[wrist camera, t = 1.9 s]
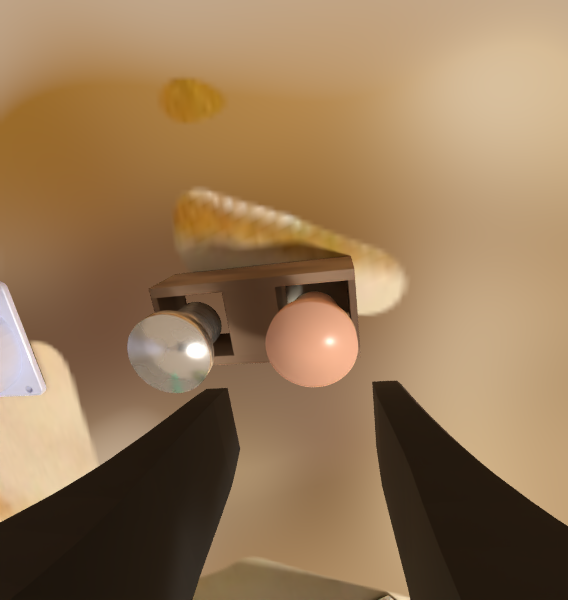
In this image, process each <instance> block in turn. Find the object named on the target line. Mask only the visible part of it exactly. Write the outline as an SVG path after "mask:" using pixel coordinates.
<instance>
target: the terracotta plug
mask: <svg viewBox="0 0 568 600" xmlns="http://www.w3.org/2000/svg"><path fill="white" fill-rule="evenodd" d="M265 345H266V352H267V356H268V358H269V361H270V363H271V364H272V366H273V367H274V369H275V370H276V371H277V372H278V373H279V374H280V375H281V376H282V377H284V378H285V379H287V380H288V381H290V382H292V383H295V384H297V385H301V386H306V387H322V386H326V385H329V384H332V383H334V382H336V381H338V380H340V379H341V378H343V377H344V376H345V375H346V374H347V373H348V372H349V371H350V370H351V368H352V367H353V365H354V363H355V361H356V358H357V354H358V340H357V334H356V330H355V326H354V324H353V322H352V320H351V319H350V317H349V316H348V315H347V314H346V312H345V311H343V310H342V309H341V308H340V307H338V305H337V303H336V302H335V300H334V299H333V298H332V297H330V296H329V295H327V294H325V293H322V292H317V291H312V292H307V293H305V294H303V295H301V296H299V297H298V298H297V299H296V300H295V301H293V302H291V303H289V304H287V305H286V306H284V307H283V308H282V309H280V311H279V312H278V313H277V314H276V315H275V317H274V318H273V320H272V322H271V324H270V326H269V328H268V331H267V335H266V342H265Z"/></svg>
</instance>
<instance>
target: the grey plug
mask: <svg viewBox="0 0 568 600" xmlns="http://www.w3.org/2000/svg"><path fill="white" fill-rule="evenodd" d="M220 332H221V320H220V318H219V316H218V314H217V313H216V311H215V310H214V309H213V308H212V307H210V306H209V305H207V304H204V303H201V302H192V303H188V304H186V305H184V306H183V307H182V308H181V309H179V310H178V311H171V310H164V311H159V312H155V313H153V314H151V315H149V316H148V317H146V318H145V319H144V320H142V321H141V322H139V323H138V324H137V325H136V326H135V327H134V328H133V330H132V332H131V334H130V336H129V339H128V347H127V349H128V356H129V359H130V362H131V364H132V366H133V368H134V370H135V371H136V372H137V374H138V375H139V376H140V377H141V378H142V379H143V380H144V381H145V382H146V383H148V384H149V385H151V386H152V387H154V388H156V389H159V390H161V391H165V392H170V393H182V392H186V391H190V390H192V389H194V388H196V387H197V386H198V385H200V384H201V382H202V381H203V380H204V378H205V377H206V376H207V374H208V373H209V371H210V370H211V367H212V365H213V362H214V346H213V343H214V342H215V341H216V340H217V338H218V337H219V335H220Z"/></svg>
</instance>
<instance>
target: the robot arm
mask: <svg viewBox="0 0 568 600" xmlns="http://www.w3.org/2000/svg"><path fill="white" fill-rule="evenodd" d="M372 384H373V399H374V415H375V430H376V431H375V432H376V447H377V453H378V461H379V468H380V475H381V481H382V487H383V491H384V495H385V499H386V503H387V507H388V511H389V515H390V519H391V523H392V527H393V531H394V535H395V539H396V543H397V547H398V551H399V554H400V559H401V563H402V566H403V570H404V574H405V578H406V582H407V586H408V590H409V595H410V600H568V526H567V525H565V524H564V523H562V522H561V521H559V520H557V519H556V518H554V517H553V516H552V515H550V514H549V513H547V512H546V511H544V510H543V509H542V508H540V507H539V506H537V505H536V504H534V503H533V502H531V501H530V500H529V499H527V498H526V497H525V496H523V495H522V494H520V493H519V492H518V491H517V490H515V489H514V488H513V487H511V486H510V485H509V484H507V483H506V482H505V481H503V480H502V479H501V478H499V477H498V476H496V475H495V474H494V473H493V472H492V471H490V470H489V469H488V468H487V467H486V466H484V465H483V464H482V463H481V462H480V461H478V460H477V459H476V458H475V457H474V456H473V455H471V454H470V453H469V452H468V451H467V450H466V449H465V448H463V447H462V446H461V445H460V444H459V443H458V442H457V441H456V440H455V439H454V438H452V437H451V436H450V435H449V434H448V433H447V432H446V431H445V430H444V429H443V428H442V427H441V426H440V425H439V424H438V423H437V422H436V421H435V420H434V419H433V418H432V417H431V416H430V415H429V414H428V413H427V412H426V411H425V410H424V409H423V408H422V407H421V406H420V405H419V404H418V403H417V402H416V401H415V399H414V398H413V397H412V396H411V395H410V394H409V393H408V392H407V391H406V389H405V388H404V387H403V386H402V385H401V384H400V383H399V382H398V381H379V382H372ZM45 391H46V385H45V382H44V380H43V377H42V374H41V372H40V369H39V367H38V364H37V362H36V359H35V356H34V354H33V351H32V349H31V346H30V343H29V341H28V338H27V336H26V333H25V331H24V328H23V325H22V323H21V321H20V318H19V315H18V313H17V310H16V307H15V305H14V302H13V300H12V297H11V295H10V292H9V289H8V287H7V285H6V284H5V283H3V282H1V281H0V397H8V396H31V395H41V394H42V393H44V392H45ZM239 451H240V446H239V441H238V437H237V432H236V427H235V423H234V418H233V412H232V408H231V403H230V398H229V393H228V389H227V388H219V389H206V390H204V391H203V392H201V393H200V394H199V395H197V396H196V397H194V398H193V399H191V400H190V401H189V402H187V403H186V404H185V405H184V406H182V407H181V408H179V409H178V410H177V411H176V412H174V413H173V414H172V415H170V416H169V417H168V418H166V419H165V420H164V421H162V422H161V423H160V424H158V425H157V426H156V427H154V428H153V429H152V430H150V431H149V432H148V433H146V434H145V435H144V436H142V437H141V438H139V439H138V440H136V441H135V442H134V443H132V444H131V445H129V446H128V447H126V448H125V449H124V450H122V451H121V452H119V453H118V454H116V455H115V456H114V457H112V458H111V459H109V460H108V461H106V462H105V463H103V464H102V465H100V466H99V467H97V468H95V469H94V470H92V471H91V472H89V473H88V474H86V475H84V476H83V477H81V478H79V479H78V480H76V481H74V482H73V483H71V484H69V485H68V486H66V487H64V488H63V489H61V490H59V491H58V492H56V493H54V494H52V495H51V496H49V497H47V498H45V499H43V500H42V501H40V502H38V503H36V504H34V505H32V506H30V507H28V508H27V509H25V510H23V511H21V512H19V513H17V514H15V515H13V516H11V517H10V518H8V519H6V520H4V521H2V522H0V600H192V599H193V596H194V593H195V590H196V587H197V583H198V580H199V577H200V574H201V571H202V569H203V566H204V563H205V560H206V557H207V554H208V552H209V549H210V546H211V543H212V541H213V537H214V535H215V532H216V530H217V527H218V524H219V521H220V518H221V516H222V513H223V510H224V507H225V504H226V501H227V498H228V495H229V492H230V490H231V487H232V483H233V479H234V474H235V470H236V466H237V461H238V456H239Z"/></svg>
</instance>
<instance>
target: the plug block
mask: <svg viewBox="0 0 568 600" xmlns="http://www.w3.org/2000/svg"><path fill="white" fill-rule="evenodd" d="M344 280H347V289H348V301H349V314H350V319H351V320H352V322H353V324H354V326H355V330H356V334H357V340H358V354H357V357H361V355H360V343H359V328H358V314H357V300H356V286H355V272H354V266H353V262H352V259H351V256H346V257H336V258H327V259H317V260H307V261H298V262H288V263H279V264H269V265H260V266H250V267H241V268H231V269H222V270H212V271H203V272H193V273H184V274H175V275H173V276H171V277H170V278H168V279H166V280H164V281H162V282H160V283H159V284H157V285H155V286H153V287H151V288H149V292H150V296H151V300H152V303H153V307H154V311H155V312H159V311H164V310H171V311H178V310H179V309H181V308H182V307H183V306H184V305H186V304H187V303H186V298H185V295H194V294H204V293H216V292H222V295H223V301H224V305H225V311H226V316H227V321H228V326H229V331H230V333H228V334H227V333H226V334H220V335H219V337H218V338H217V340H216V341H215V342H214V343H213V346H214V362H213V365H229V364H248V363H265V362H270V361H269V358H268V356H267V352H266V345H265V342H266V335H267V331H268V328H269V326H270V324H271V322H272V320H273V318H274V317H275V315H276V314H277V313H278V312H279V311H280V309H282V308H283V307H284V306H286V305H287V304H288V303H287V296H286V289H285V286H291V285H301V284H312V283H323V282H333V281H344Z"/></svg>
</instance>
